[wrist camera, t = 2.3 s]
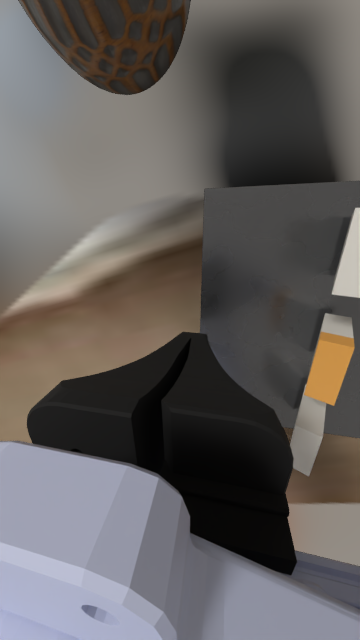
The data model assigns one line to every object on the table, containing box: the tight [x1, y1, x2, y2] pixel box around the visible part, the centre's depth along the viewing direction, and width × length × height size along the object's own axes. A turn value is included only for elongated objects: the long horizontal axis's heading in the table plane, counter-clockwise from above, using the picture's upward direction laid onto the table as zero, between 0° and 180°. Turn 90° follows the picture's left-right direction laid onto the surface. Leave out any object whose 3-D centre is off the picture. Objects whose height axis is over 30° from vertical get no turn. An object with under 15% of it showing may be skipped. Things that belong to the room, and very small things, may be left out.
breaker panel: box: [200, 181, 360, 438], centre depth 13 cm, size 16×16×2 cm
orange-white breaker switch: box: [304, 313, 355, 406], centre depth 11 cm, size 3×1×4 cm, turn 0°
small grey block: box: [290, 385, 326, 476], centre depth 12 cm, size 3×1×4 cm, turn 0°
